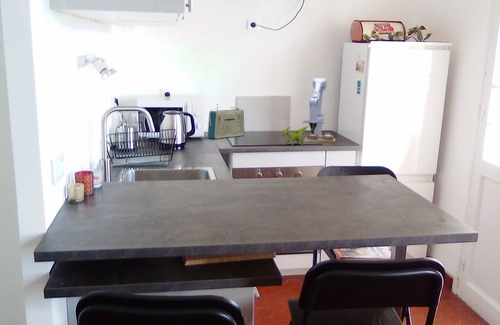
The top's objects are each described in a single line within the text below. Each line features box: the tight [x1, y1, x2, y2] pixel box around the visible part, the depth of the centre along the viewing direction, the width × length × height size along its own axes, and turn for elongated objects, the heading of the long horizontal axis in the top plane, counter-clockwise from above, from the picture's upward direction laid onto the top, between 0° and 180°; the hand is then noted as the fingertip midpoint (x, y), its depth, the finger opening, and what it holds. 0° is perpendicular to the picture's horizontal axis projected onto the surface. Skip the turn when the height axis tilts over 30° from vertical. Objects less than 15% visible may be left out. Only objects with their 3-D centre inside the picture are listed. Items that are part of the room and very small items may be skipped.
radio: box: [207, 103, 246, 140], centre depth 354 cm, size 30×8×25 cm, turn 131°
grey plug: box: [324, 132, 332, 137], centre depth 350 cm, size 4×4×4 cm
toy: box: [280, 125, 309, 146], centre depth 333 cm, size 8×21×15 cm, turn 115°
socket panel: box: [303, 133, 336, 144], centre depth 351 cm, size 12×22×4 cm, turn 81°
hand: (312, 133), depth 351 cm, fingers closed, pressing on plug red
